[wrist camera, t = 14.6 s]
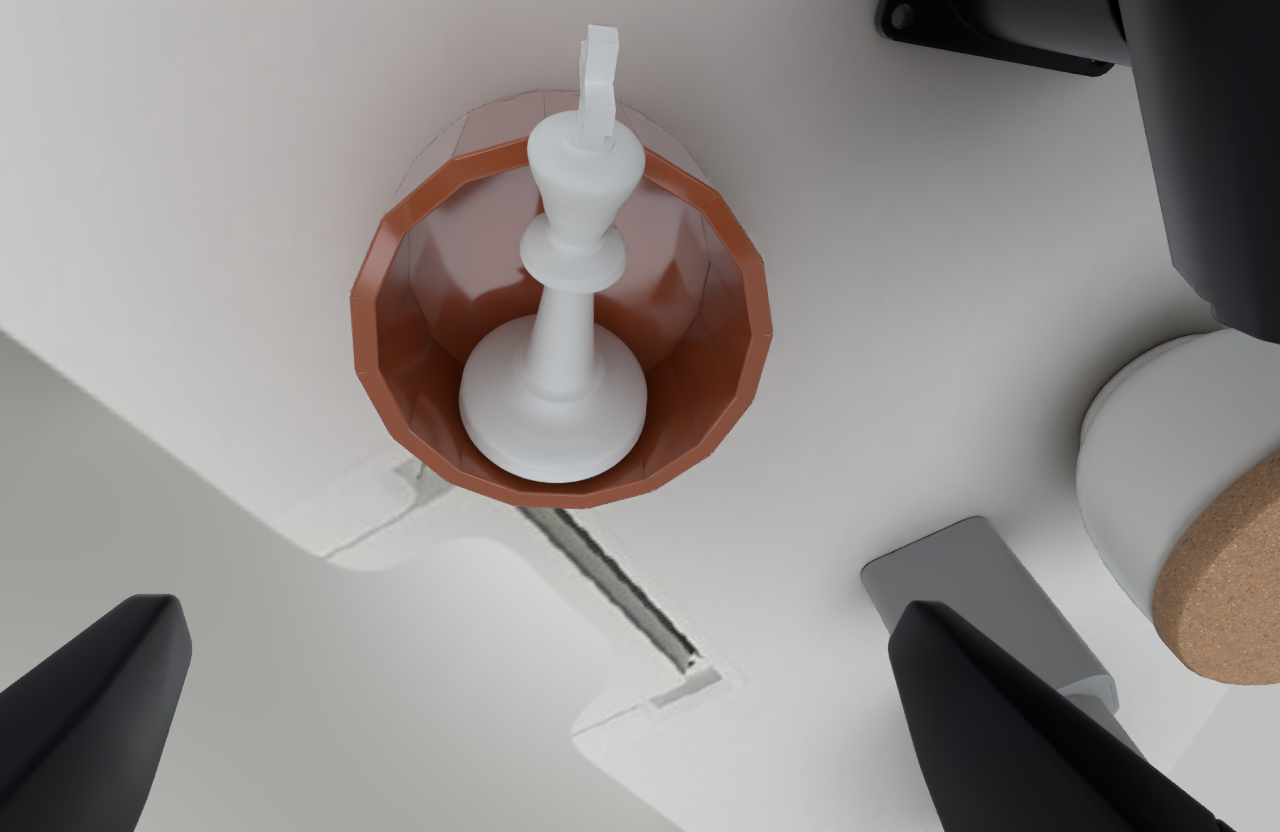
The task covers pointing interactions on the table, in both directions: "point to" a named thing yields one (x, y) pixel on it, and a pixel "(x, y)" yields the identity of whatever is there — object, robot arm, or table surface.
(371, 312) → the terracotta round bowl
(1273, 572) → the trinket box
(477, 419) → the chess piece
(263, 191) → the table surface
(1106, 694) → the power adapter
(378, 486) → the table surface
